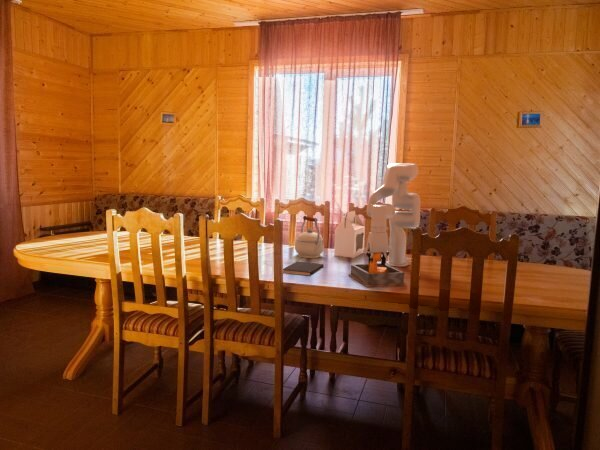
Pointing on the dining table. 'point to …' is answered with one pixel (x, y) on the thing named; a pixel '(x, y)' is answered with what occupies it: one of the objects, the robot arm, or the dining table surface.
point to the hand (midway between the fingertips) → (377, 265)
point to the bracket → (373, 265)
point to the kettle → (309, 241)
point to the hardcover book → (303, 268)
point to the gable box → (349, 236)
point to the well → (377, 276)
